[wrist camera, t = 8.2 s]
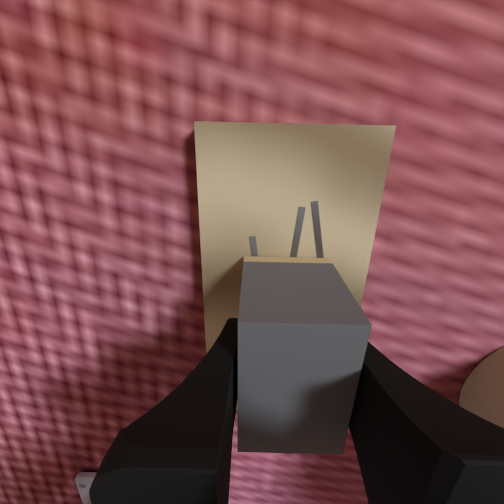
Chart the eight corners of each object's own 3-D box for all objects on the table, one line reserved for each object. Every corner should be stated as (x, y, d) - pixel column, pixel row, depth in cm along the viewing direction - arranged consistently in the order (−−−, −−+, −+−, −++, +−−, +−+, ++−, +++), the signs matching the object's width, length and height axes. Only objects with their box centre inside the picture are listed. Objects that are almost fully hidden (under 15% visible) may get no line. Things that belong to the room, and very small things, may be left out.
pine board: (334, 396, 18) (339, 413, 17) (212, 393, 18) (209, 411, 17) (382, 127, 12) (396, 125, 11) (199, 123, 12) (193, 121, 11)
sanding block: (315, 357, 15) (342, 454, 10) (242, 356, 15) (237, 451, 10) (329, 258, 13) (371, 325, 8) (243, 256, 13) (237, 322, 8)
